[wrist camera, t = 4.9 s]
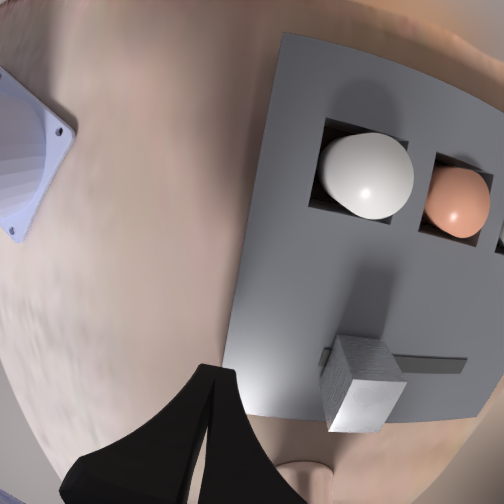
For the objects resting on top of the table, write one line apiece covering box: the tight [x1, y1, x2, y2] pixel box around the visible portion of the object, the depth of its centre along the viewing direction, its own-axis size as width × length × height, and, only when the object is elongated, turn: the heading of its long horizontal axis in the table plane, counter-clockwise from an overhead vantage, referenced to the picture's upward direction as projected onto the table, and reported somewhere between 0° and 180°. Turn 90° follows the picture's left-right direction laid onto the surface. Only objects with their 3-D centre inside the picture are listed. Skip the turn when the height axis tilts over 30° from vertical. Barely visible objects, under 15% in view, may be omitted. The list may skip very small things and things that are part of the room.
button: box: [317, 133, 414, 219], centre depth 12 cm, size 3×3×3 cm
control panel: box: [222, 32, 504, 423], centre depth 15 cm, size 18×18×3 cm
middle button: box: [421, 164, 490, 238], centre depth 13 cm, size 3×3×3 cm
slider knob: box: [319, 335, 407, 433], centre depth 13 cm, size 2×3×3 cm
